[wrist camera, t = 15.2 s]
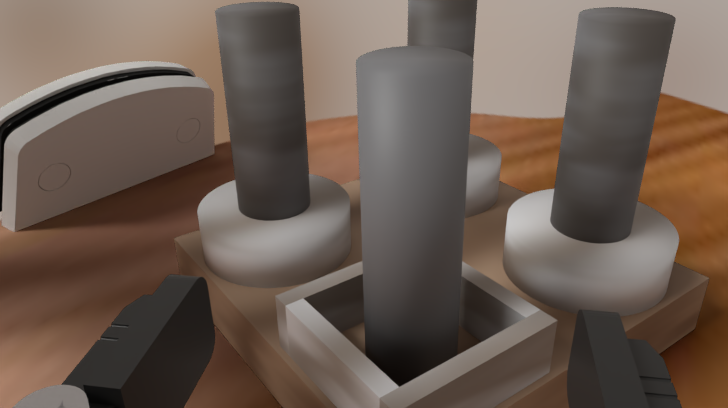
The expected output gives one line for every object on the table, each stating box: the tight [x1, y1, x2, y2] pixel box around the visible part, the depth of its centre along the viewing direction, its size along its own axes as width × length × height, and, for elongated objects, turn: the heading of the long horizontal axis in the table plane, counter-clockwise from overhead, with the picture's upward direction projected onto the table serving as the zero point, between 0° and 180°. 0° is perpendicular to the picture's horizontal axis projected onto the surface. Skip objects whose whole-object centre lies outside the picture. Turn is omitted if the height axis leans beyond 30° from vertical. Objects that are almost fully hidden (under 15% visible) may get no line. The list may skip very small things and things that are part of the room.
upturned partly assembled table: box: [174, 0, 709, 408], centre depth 30 cm, size 19×19×15 cm
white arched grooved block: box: [0, 61, 214, 232], centre depth 45 cm, size 17×5×10 cm, turn 140°
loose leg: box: [356, 46, 473, 387], centre depth 22 cm, size 4×4×12 cm
